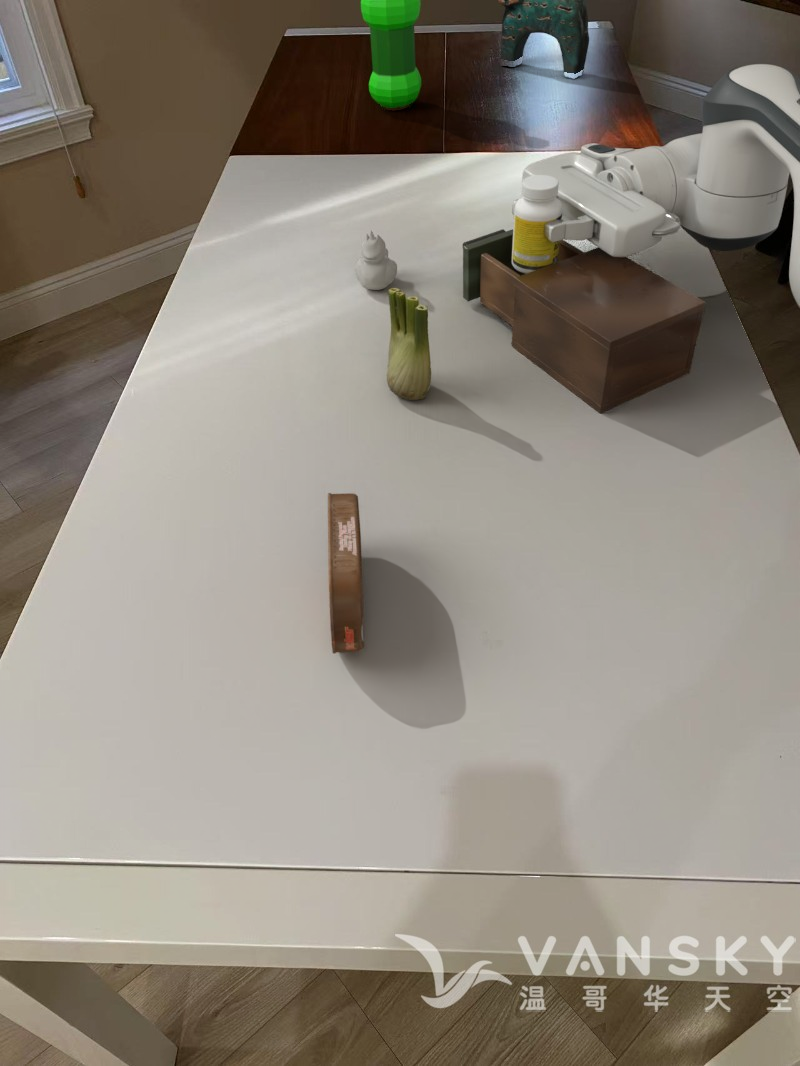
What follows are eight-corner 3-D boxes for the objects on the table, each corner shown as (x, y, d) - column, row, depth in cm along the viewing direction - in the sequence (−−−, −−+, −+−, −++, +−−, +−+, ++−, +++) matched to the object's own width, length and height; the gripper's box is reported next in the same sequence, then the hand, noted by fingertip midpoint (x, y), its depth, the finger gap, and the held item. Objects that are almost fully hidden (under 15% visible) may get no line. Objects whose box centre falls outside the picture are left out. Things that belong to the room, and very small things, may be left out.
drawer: (444, 283, 106) (443, 232, 102) (517, 257, 110) (519, 207, 105) (533, 350, 95) (537, 296, 90) (611, 319, 99) (619, 265, 94)
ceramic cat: (490, 66, 169) (492, -51, 155) (508, 57, 172) (512, -59, 158) (574, 83, 159) (585, -41, 145) (591, 73, 163) (604, -49, 148)
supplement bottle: (560, 275, 95) (567, 191, 88) (513, 277, 96) (517, 193, 89) (555, 253, 99) (561, 170, 92) (509, 254, 100) (513, 173, 93)
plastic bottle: (426, 96, 159) (421, -62, 141) (419, 116, 151) (413, -47, 134) (374, 96, 160) (364, -60, 142) (365, 116, 153) (352, -46, 135)
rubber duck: (350, 294, 108) (344, 236, 102) (366, 270, 112) (360, 212, 106) (390, 298, 106) (386, 239, 101) (404, 274, 111) (401, 216, 105)
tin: (331, 540, 77) (320, 472, 70) (365, 537, 77) (356, 469, 71) (333, 675, 66) (320, 608, 60) (372, 672, 66) (363, 605, 60)
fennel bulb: (437, 403, 90) (434, 305, 82) (393, 411, 90) (386, 313, 81) (425, 374, 94) (422, 277, 86) (383, 381, 94) (375, 284, 85)
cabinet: (511, 346, 97) (514, 277, 91) (596, 312, 102) (604, 244, 95) (600, 413, 88) (610, 342, 81) (689, 373, 92) (706, 302, 85)
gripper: (684, 253, 93) (581, 286, 89) (579, 189, 106) (485, 215, 102) (695, 197, 88) (587, 229, 84) (583, 138, 101) (486, 163, 98)
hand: (530, 221), depth 93 cm, fingers closed on supplement bottle, 5 cm apart
